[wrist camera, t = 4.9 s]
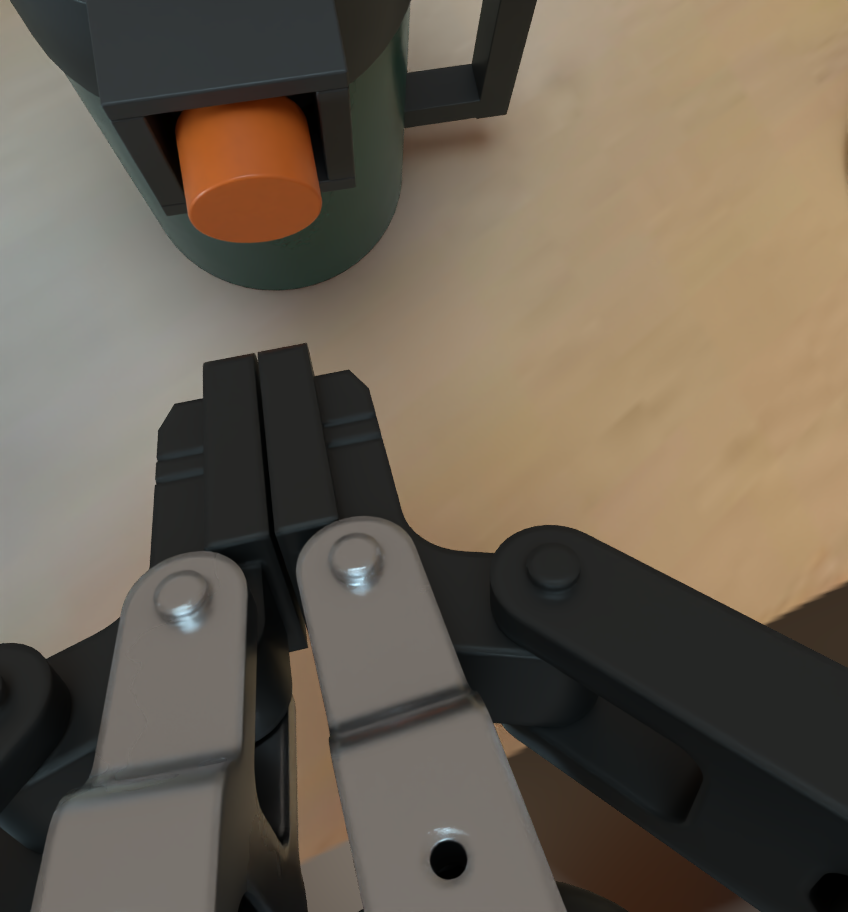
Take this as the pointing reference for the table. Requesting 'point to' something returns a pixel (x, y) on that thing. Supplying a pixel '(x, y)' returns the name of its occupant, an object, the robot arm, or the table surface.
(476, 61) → the jug
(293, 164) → the lid button
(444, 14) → the table surface
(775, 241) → the table surface
